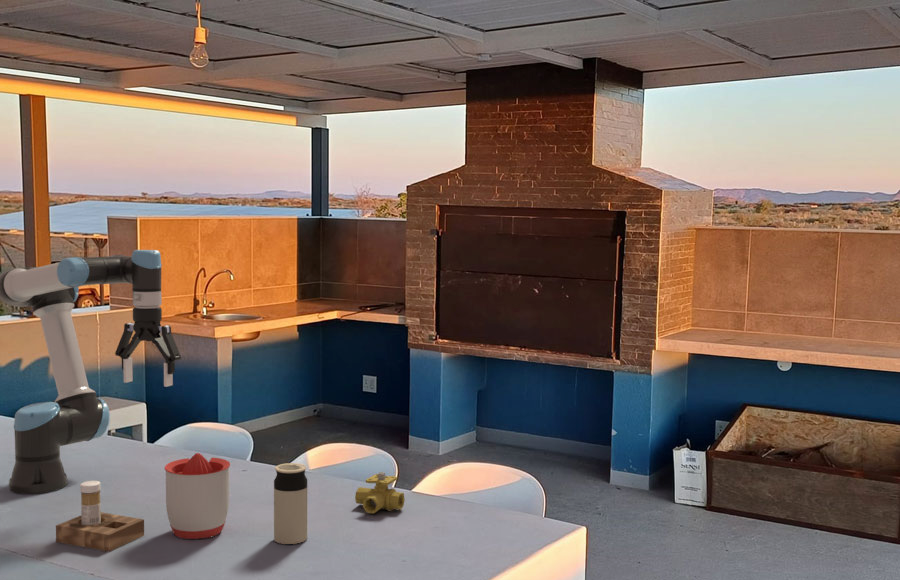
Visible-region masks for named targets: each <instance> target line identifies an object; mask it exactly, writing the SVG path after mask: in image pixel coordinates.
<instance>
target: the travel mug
mask: <svg viewBox="0 0 900 580" xmlns="http://www.w3.org/2000/svg"><path fill="white" fill-rule="evenodd" d="M274 470H275V472H276V476H275V478H274V480H273V540H274V542H275V543H278V544H280V543H281V545H285V544H293V545H298V544H297V543H299V544H301V542H302V543H304V542H305V541H306V540H308V478H307V476H306V470H307V466H306V465H305V464H302V463H300V462H299V463H297V462H296V463H295V462H289V463H287V462H286V463H281V464H278V465H277V466H275V467H274Z"/></svg>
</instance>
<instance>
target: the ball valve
mask: <svg viewBox="0 0 900 580" xmlns="http://www.w3.org/2000/svg"><path fill="white" fill-rule="evenodd" d="M397 480H398V477H397V476H395V475H391V476H390V475H387V476H386V473H385V472H383V471H380V472H378V473H376V474H374V475H372V476H370V477H368V478H367V479H365V483H366V484H375V485H374V488H369V487H362V486H361V487H357V489H356V491H355V495H354V497H355V498H354V500H355V503H356V504H359V505H362V508H363V509H364V511H365V512H366V513H367V514H376V513H377V512H378V511H380V510H386V511H388V512H391V511H393V510H399V511H400V510H402V509H403V508H404V505H405V502H406V501H405V500H406V499H405V493H404V492H400V491H399V492H398V491H396V489H395V488H389V485H391V484H392V483H394V482H396V481H397Z"/></svg>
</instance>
